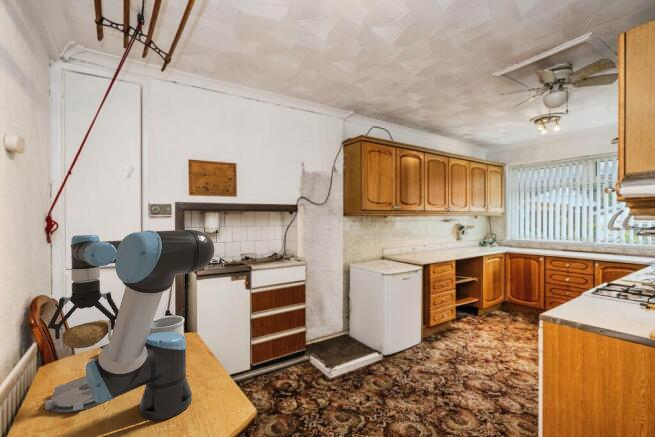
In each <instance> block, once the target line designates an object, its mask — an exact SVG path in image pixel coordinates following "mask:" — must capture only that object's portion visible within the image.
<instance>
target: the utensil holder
mask: <svg viewBox="0 0 655 437" xmlns="http://www.w3.org/2000/svg"><path fill="white" fill-rule="evenodd" d="M184 323H185V317H183V316H181V315H165V316H160V317H154V320H153V323H152V326H151V329H150V332H149V335H151V334H155V333H161V332H176V333H180V334H182V335H183V336H184V337H185V335H184V334H185V332H184V331H185V329H184V328H185V327H184ZM149 335H148V336H149Z"/></svg>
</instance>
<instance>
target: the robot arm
mask: <svg viewBox="0 0 655 437" xmlns="http://www.w3.org/2000/svg"><path fill="white" fill-rule="evenodd" d="M70 252H71V255H70V259H71V260H70V261H71V270H70V271H71V281H72V283H71V296H68V297H65V296H62V297H60V298H59V299H58V306H57V308H56V310H55V312H54V314H53V315H52V317H51V319H50V321H49V323H48V325H47V327H46V328H47V329H49V330H51V329H52V330H54V336H55V340H59V351H61V350H64V348H65V344H64V342H63V340H62V337H63V334H64V332H65V326H63V325H64V324H65V323H66V321H68V319H69V318H70V317H71V316H72V315H73V313H75V311H76V310H77V309H79V310H82V309H89V308H93V307H95V308H96V309H98V310H99V312H101V313H102V314H103V315H104V316H105V317H106V318H108V320H107V321H108V333H107V340H108V342H109V343H107V345H106V344H105V345H106V346H105V347H104V348H103V349H100V350H101V351H100V352H99V355H98V358H94V359H91V360H92V361H91V360H89V361H88V362H87V363H86V365H85V376H86V378H87V383H88V387H89V390H90V393H91V395H92V397H93V399H94V400H95V401H96V402H98V403H102V402H104V403H105V401H106V402H108V401H110V400H114V399H115V398H117V397H120V396H123V395H125V394H127V393H129V392H131V391H134V390H136V389H138V388H141V387H143V386H145V388H144V391H143V394H142V397H141V399H140V403H139V407H138V408H139V410H138V412H139V415H140V416H141V417H142V418H144V419H147V421H160V420H161V421H162V420H167V419H170V418H172V417H175V416H177V415H178V414H180V413H182V412H184V411H185V410H186V409H188V407H189V406H190V405H191V403H192V400H193V399H192V398H193V393H192V390H191V387H190V384H189V382H188V378H187V373H186V372H187V356H186V355H187V353H186V352H187V342H186V337H185V335H184V336H183V335H182V334H180V333H176V332H161V333H155V334H151V335H149V332H150V329H151V326H152V323H153V320H154V319H155V318H156V317H155V316H156V315H157V311H158V309H159V305H160V302H161V300H162V296H163V294H164V292H167V291H169V289H171V288H172V286H173V284H174V281H175V278H176V276H181V275H187V274H189V273H190V274H191V273H194V272H198V271H201V270H203V269H204V268H206V267H207V266H208V265H209V264H210V263H211V262H212V259H213V258H214V256H215V244H214V241H213V239H212V238H211V237H210V236H209V235H208V234H206V233H205V232H203V231H201V230H195V229H176V230H175V229H174V230H149V229H148V230H144V231H134V232H132V233H129V234H127V235H126V236H124V237H123V239H121V240H103V241H100V236H99V235H98V234H79V235H73V236H72V237H71V242H70ZM111 264H115V265H114V266H115V268H114V269H115V273H116V275H117V278H118V279H119V280H120V281H121V282H122V284H123V285H124V287H125V288H124V292H123V295H122V298H121V302H120V305H119V308H118V306H117V304H116V302H115V301H114V299H113V298H112V292H111V291H107V292H103V293H102V291H101V280H100V278H101V275H100V274H101V270H100V267H105V266H108V265H111ZM102 298H103V299H104V300H106V301H107V303H108V305H109V306H110V308H111V310H112V312H113V313H114V314H113V313H112V312H111V311H110V310H109V309H107V307H105V306H104V305H103V304H102V302H100V300H101V299H102ZM69 302H71V304H73V306H72V307H71V308H70V310H68V311H67V312H66V314H65V315H64V316H63V317H62V318H61V320H59V322H58V323H56V322H57V320H58V318H59V316H60V314H61V312H62V310H63V309H64V307H65V305H66V304H68V303H69ZM148 335H149V336H148ZM107 400H108V401H107ZM102 404H103V403H102Z"/></svg>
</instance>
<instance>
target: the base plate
mask: <svg viewBox="0 0 655 437" xmlns="http://www.w3.org/2000/svg"><path fill="white" fill-rule="evenodd" d="M108 401H109V400H107V401H105V402H108ZM105 402H102V403H98V402H94V403H92V404H89V405H85V406H84V408H83V409H79V410H75V411H73V408H71V409H59V408H55V407H53V408H51V409H49V410H50V411H51V413H54V414H61V415H64V414H65V415H66V414H74V413H79V412H83V411H86V410H90V409H92V408H95V407H98V406H100V405H102V404H104V403H105Z"/></svg>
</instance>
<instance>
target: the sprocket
mask: <svg viewBox="0 0 655 437" xmlns="http://www.w3.org/2000/svg"><path fill="white" fill-rule="evenodd" d="M92 360H93V359H90V361H92ZM53 390H54V392H52V394H51V399H48V400H45V401H44V408H45V409H46V410H47V411H48V410H50V409H51V408H53V407H55V408H59V409H71V408H73V411H75V410H79V409H83V408H84V406H85V405H89V404H92V403H94V402H96V401H95V400H94V399H93V397H92V395H91V393H90V390H89V387H88V383H87V378H86V375H85V376H81V377H79V378H75V379H73V380H71V381H69V382H67V383H60V384H58V385H57V386H55V387H54V388H53Z"/></svg>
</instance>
